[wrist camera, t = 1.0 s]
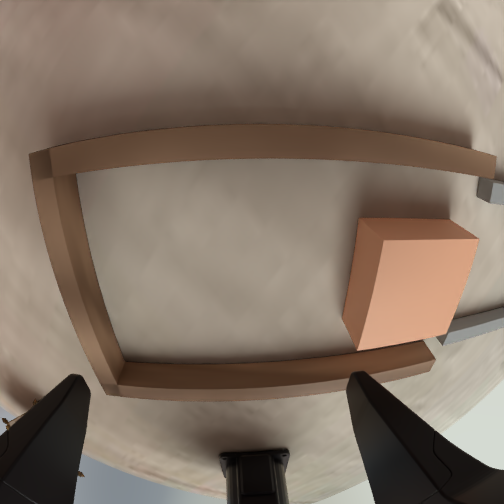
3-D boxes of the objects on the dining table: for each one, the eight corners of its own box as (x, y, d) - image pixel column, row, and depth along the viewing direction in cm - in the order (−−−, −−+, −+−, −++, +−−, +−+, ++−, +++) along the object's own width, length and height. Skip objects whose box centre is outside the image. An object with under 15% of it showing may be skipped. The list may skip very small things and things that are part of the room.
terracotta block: (422, 305, 17) (445, 333, 14) (340, 315, 16) (357, 350, 14) (446, 217, 14) (479, 239, 11) (356, 215, 14) (383, 240, 11)
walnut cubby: (417, 352, 18) (429, 371, 16) (113, 372, 17) (106, 394, 15) (472, 149, 12) (496, 156, 10) (52, 147, 11) (28, 154, 9)
